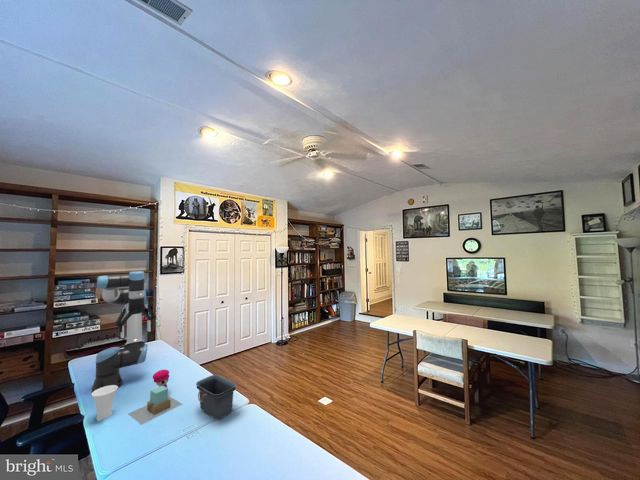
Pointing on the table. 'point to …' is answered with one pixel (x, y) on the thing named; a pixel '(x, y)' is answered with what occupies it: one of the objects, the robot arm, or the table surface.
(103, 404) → the cup
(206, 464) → the table surface
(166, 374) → the toy
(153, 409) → the walnut brick
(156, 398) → the teal brick
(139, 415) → the build plate
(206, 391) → the storage bin
